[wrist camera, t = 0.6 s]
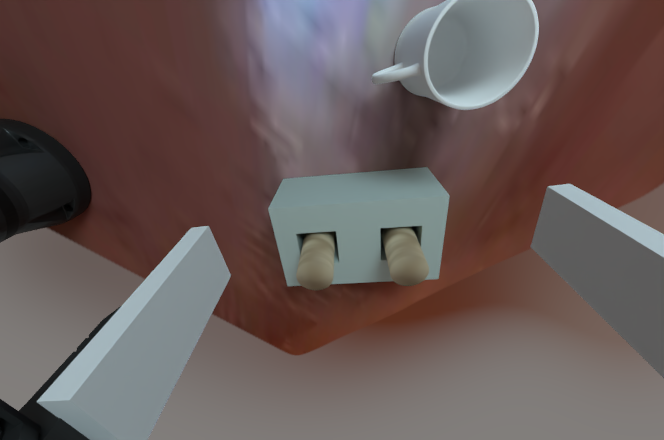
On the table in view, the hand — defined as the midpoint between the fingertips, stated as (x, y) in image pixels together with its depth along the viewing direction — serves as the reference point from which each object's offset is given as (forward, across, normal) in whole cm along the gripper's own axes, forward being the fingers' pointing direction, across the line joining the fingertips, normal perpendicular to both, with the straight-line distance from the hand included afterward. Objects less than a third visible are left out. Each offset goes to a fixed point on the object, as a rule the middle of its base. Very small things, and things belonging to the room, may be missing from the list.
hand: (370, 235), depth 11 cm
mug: (+27, +8, +5) cm, 28 cm away
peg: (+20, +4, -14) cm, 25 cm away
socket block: (+26, -1, -13) cm, 30 cm away
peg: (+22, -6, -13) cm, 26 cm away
